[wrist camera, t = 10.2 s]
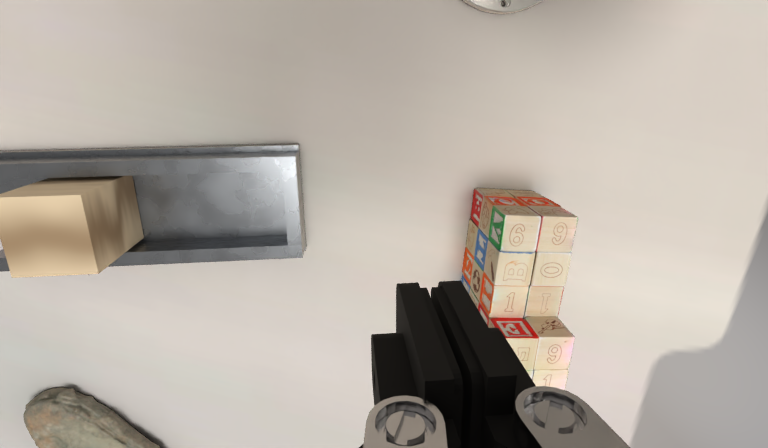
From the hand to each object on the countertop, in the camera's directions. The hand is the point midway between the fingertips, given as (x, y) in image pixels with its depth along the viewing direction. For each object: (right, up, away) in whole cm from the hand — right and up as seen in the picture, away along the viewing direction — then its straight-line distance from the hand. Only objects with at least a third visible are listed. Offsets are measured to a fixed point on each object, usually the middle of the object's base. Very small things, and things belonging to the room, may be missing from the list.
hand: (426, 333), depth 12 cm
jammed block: (-26, +4, +28) cm, 38 cm away
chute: (-22, +5, +29) cm, 37 cm away
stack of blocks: (+10, -4, +35) cm, 37 cm away
